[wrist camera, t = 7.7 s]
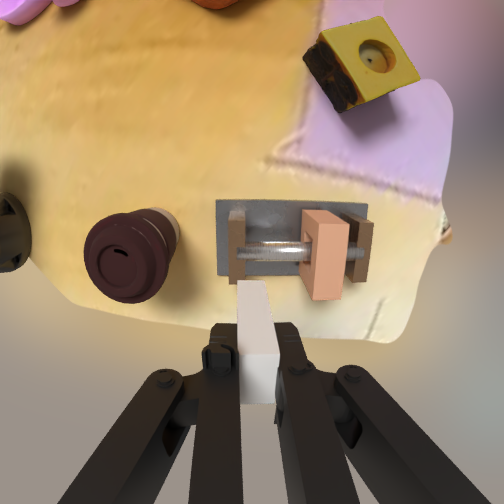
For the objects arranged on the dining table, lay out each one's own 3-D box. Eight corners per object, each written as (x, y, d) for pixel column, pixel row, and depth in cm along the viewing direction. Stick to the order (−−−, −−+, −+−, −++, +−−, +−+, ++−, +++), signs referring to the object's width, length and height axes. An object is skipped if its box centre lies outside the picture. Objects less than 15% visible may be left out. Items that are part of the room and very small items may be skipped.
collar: (298, 271, 41) (312, 300, 32) (302, 209, 38) (319, 223, 30) (321, 271, 41) (340, 299, 33) (326, 210, 38) (349, 224, 30)
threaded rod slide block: (217, 273, 43) (212, 296, 35) (216, 199, 40) (209, 208, 32) (358, 271, 44) (378, 293, 36) (365, 203, 40) (390, 212, 33)
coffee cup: (154, 275, 43) (118, 326, 28) (114, 225, 40) (61, 257, 26) (202, 237, 41) (182, 278, 27) (160, 183, 39) (117, 197, 24)
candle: (300, 57, 33) (316, 30, 24) (354, 38, 32) (380, 12, 23) (336, 115, 36) (364, 104, 27) (388, 92, 35) (422, 79, 25)
